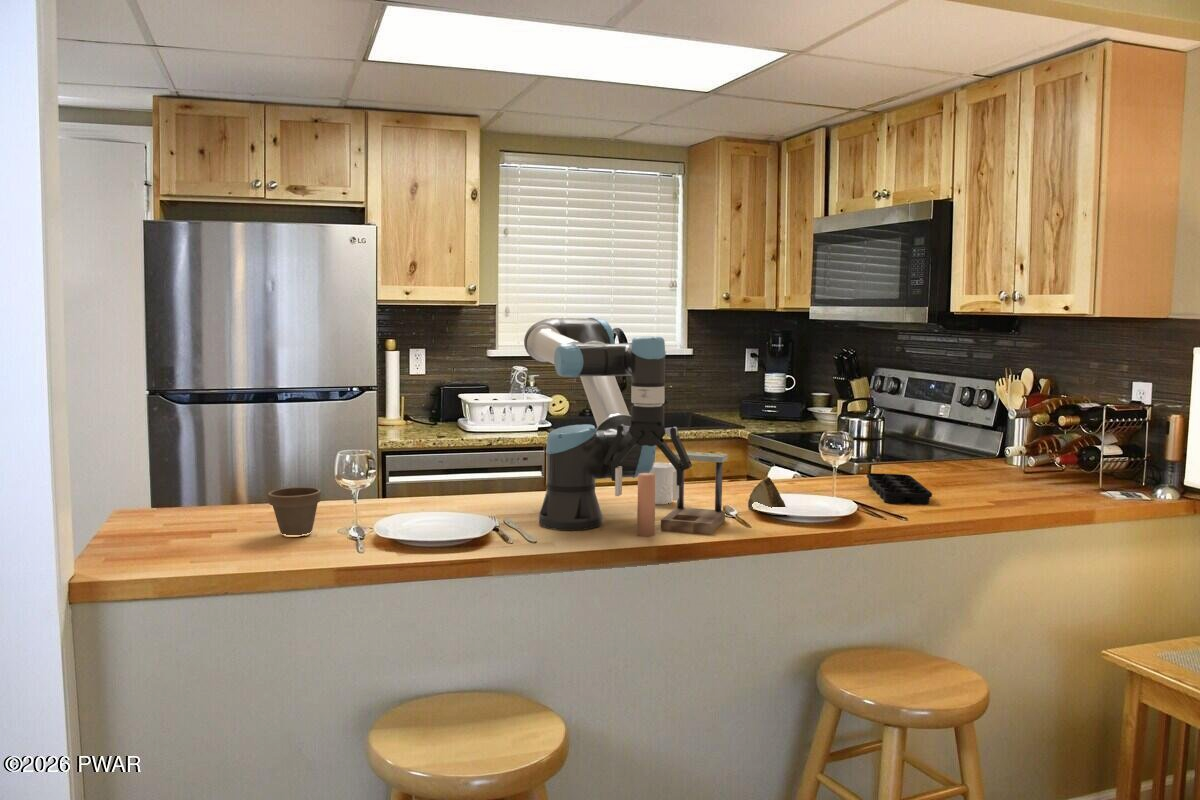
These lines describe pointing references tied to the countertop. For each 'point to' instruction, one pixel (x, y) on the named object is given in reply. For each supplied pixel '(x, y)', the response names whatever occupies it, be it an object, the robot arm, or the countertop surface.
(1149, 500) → the countertop surface
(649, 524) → the peg
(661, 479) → the white cup
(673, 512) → the socket board
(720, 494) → the two-post gate frame
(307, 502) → the flower pot
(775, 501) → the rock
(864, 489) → the countertop surface
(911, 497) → the egg carton
